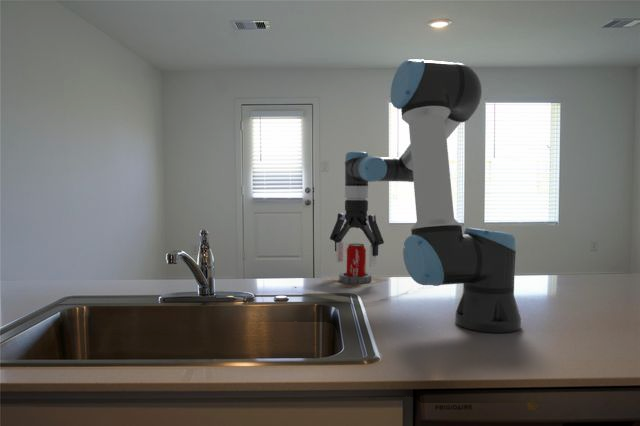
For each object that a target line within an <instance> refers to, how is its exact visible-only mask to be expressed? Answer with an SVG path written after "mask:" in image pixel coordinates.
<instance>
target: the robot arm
mask: <svg viewBox="0 0 640 426" xmlns="http://www.w3.org/2000/svg"><path fill="white" fill-rule="evenodd" d="M481 99H482V83H481V81H480V78H479V76H478V74H477V73H476V71H474V69H473V68H471V66H468V65H467V64H464V63H460V62H448V61H438V60H427V59H426V60H425V59H422V58H421V59H407V60H404V61H403V62H402V63H400V65H399V66H398V67H397V69H396V71H395V73H394V75H393V78H392V83H391V87H390V102H391V104H392V106H393V107H394V108H396V109H397V110H401V111H400V112H401V119H402V121H404V122H405V123H406V124H408V130H409V131H408V132H409V141H410V142H409V143H410V144H409V145H408V146H407V148H406V149H405V150H404V152H403V153H402V155H401V156H400V157H398V156H397V157H396V156H395V157H394V156H393V157H391V156H389V157H388V156H387V157H386V156H376V155H373V156H372V155H369V153H368V152H367V151H348V152H346V153H345V160H344V170H345V171H344V173H345V174H344V175H345V177H344V180H345V181H344V182H345V183H344V184H345V185H344V198H345V201H344V210H345V212H340V213H339V212H338V214H337V218H336V221H335V224H334V227H333V230H332V232H331V235H330V237H329V240H330V241H334V251H335V252H336V253H335V257H336V261H335V262H336V263H341V262H344V242H343V239H344V237H345V236H346V235H347V233H348V232H349V230H351V228H352V229H353V228H355V229H360V230H361V231H362V232H363V234H364V235H365V237H366V238H367V241H368V242H369V243H370V245H369V254H368V255H369V263H368V264H369V265H368V266H369V267H376V266H377V256H379V246H380V245H383V244H384V243H385V241H384V239H383V236H382V234H381V231H380V228H379V226H378V224H377V218H376V217H377V216H376V214H369V215H368V211H369V201H368V198H369V182H370V183H372V182H373V183H375V182H408V183H413V190H414V191H413V192H414V202H415V214H416V216H415V217H416V222H415V223H414V225H413V226H412V227H411V230H410V232H411V234H410V235H409V236H407V237H406V239H405V241H404V243H403V248H402V256H403V262H404V266H405V269H406V271H407V272H408V275H409V276H410V277H411V279H412V280H413V281H414V282H415V283H416V284H418V285H421V286H434V287H439V286H444V285H445V286H446V285H447V286H448V285H460V284H462V285H463V292H462V295H461V297H460V300H459V303H458V305H457V307H456V308H457V309H456V311H455V316H454V317H455V318H454V320H455V321H454V322H455V324H456V325H458V326H459V327H462V328H463V329H464V328H465V329H467V330H471V331H476V332H481V333H492V334H499V333H500V334H501V333H502V334H503V333H504V334H505V333H513V332H516V331H519V330H520V329H521V327H522V326H521V325H522V317H521V313H520V309H519V308H518V305H517V301H516V297H515V270H516V254H517V250H516V238H515V236H514V235H513V234H512V233H511V232H505V231H498V230H492V229H483V228H475V227H465V229H464V231H463V228H462V227H463V226H462V224H461V223H460V222H458V221H457V220H456V218H455V215H454V214H455V213H454V205H453V204H454V203H453V192H452V182H451V181H452V180H451V172H450V171H451V170H450V161H449V152H448V149H449V148H448V139H449V137H450V136H452V133H453V132H454V131H455V130H456V129H457V127H459V125H460V124H461V123H465V122H467V121H469V119H470V118H472V116H473V115H474V114H475V112H476V111H477V109H478V107H479V105H480V102H481Z"/></svg>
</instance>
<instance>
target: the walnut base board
mask: <svg viewBox="0 0 640 426" xmlns="http://www.w3.org/2000/svg"><path fill="white" fill-rule="evenodd" d="M388 280H389V279H388V278H380V277H375V276H372V280H371V282H369V283H362V284H352V283H344V282H341V281H339V277H337V278H332V279H328V280H323V281H321V283H325V284H326V283H327V284H331V285H339V286H344V287H349V288H355V289H357V288H360V287H364V286H368V285H369V286H370V285H373V284H376V283H380V282H384V281H388Z"/></svg>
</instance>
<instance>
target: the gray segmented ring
mask: <svg viewBox="0 0 640 426" xmlns="http://www.w3.org/2000/svg"><path fill="white" fill-rule="evenodd" d="M338 276H339V277H338V278H339V281H341V282H344V283H352V284H362V283H369V282H371V280H372V277H373V275H372V273H369V272H365V276H363V277H350V276H347V271H345V272H340V273H339V275H338Z"/></svg>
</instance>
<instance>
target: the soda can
mask: <svg viewBox="0 0 640 426" xmlns="http://www.w3.org/2000/svg"><path fill="white" fill-rule="evenodd" d="M366 252H367V250H366V246H365V244H364V243H357V242H355V243H349V244H348V247H347V248H346V272H347V276H350V277H363V276H365V273H367V272H366V262H367V261H366V260H367V258H366V255H367V253H366Z"/></svg>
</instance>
